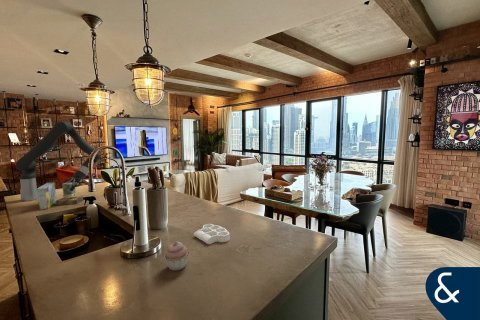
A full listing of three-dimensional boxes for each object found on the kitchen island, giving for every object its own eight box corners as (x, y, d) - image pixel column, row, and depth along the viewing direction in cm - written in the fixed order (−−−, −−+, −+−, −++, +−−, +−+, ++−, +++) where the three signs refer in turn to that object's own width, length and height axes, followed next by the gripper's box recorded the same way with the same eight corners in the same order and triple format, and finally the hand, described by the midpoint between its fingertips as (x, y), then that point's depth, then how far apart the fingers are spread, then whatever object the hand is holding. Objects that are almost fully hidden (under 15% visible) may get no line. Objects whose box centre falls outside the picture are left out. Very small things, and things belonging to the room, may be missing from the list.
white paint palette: (190, 235, 116) (214, 227, 126) (211, 248, 102) (236, 238, 112) (190, 229, 116) (214, 221, 125) (210, 241, 102) (236, 231, 112)
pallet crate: (63, 197, 174) (61, 184, 173) (67, 195, 180) (66, 182, 179) (72, 196, 175) (70, 183, 174) (76, 194, 181) (75, 181, 179)
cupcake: (159, 266, 88) (158, 241, 87) (181, 257, 95) (180, 233, 94) (172, 277, 82) (170, 249, 81) (194, 266, 88) (193, 240, 87)
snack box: (48, 202, 180) (46, 182, 178) (57, 201, 182) (55, 182, 181) (38, 210, 161) (35, 188, 159) (48, 208, 163) (46, 187, 162)
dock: (56, 205, 172) (55, 200, 171) (64, 201, 182) (63, 197, 181) (77, 203, 174) (76, 199, 173) (83, 200, 184) (83, 196, 183)
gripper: (72, 169, 185) (57, 186, 176) (83, 170, 179) (68, 188, 170) (80, 174, 190) (66, 192, 181) (91, 175, 184) (77, 193, 175)
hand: (67, 190), depth 175 cm, fingers closed on pallet crate, 8 cm apart
